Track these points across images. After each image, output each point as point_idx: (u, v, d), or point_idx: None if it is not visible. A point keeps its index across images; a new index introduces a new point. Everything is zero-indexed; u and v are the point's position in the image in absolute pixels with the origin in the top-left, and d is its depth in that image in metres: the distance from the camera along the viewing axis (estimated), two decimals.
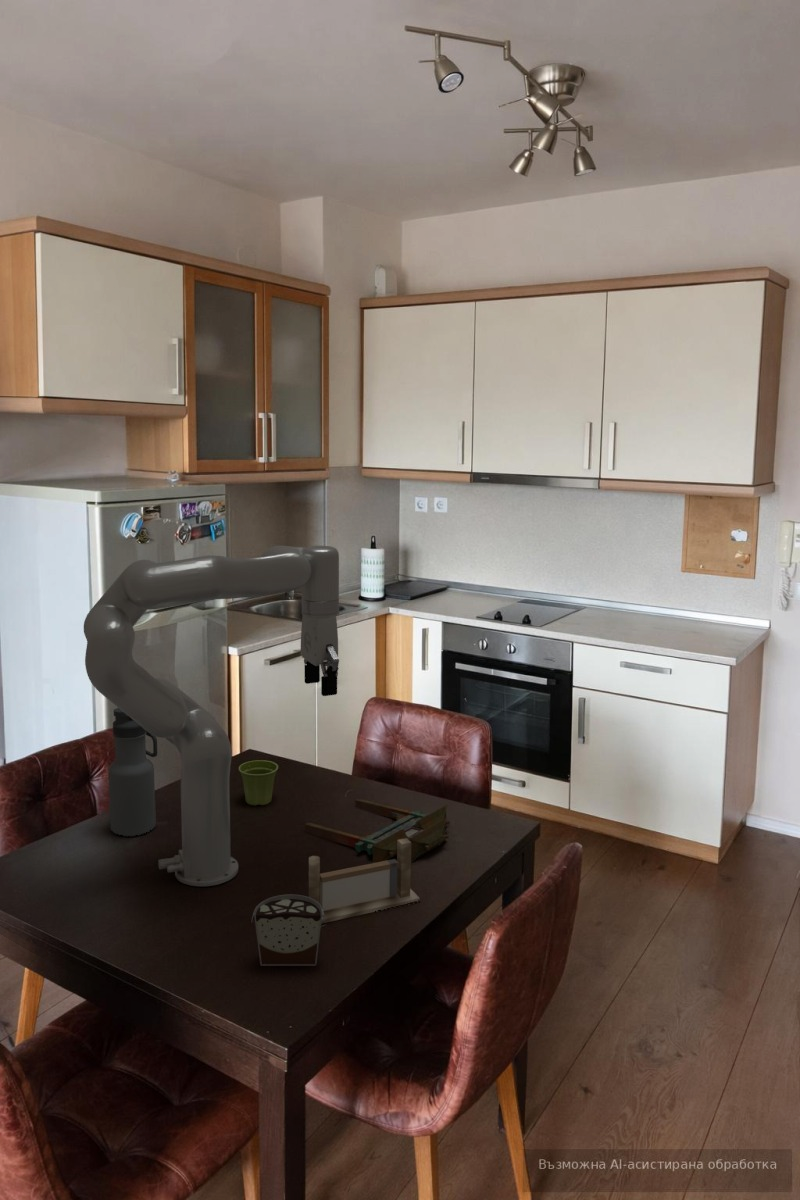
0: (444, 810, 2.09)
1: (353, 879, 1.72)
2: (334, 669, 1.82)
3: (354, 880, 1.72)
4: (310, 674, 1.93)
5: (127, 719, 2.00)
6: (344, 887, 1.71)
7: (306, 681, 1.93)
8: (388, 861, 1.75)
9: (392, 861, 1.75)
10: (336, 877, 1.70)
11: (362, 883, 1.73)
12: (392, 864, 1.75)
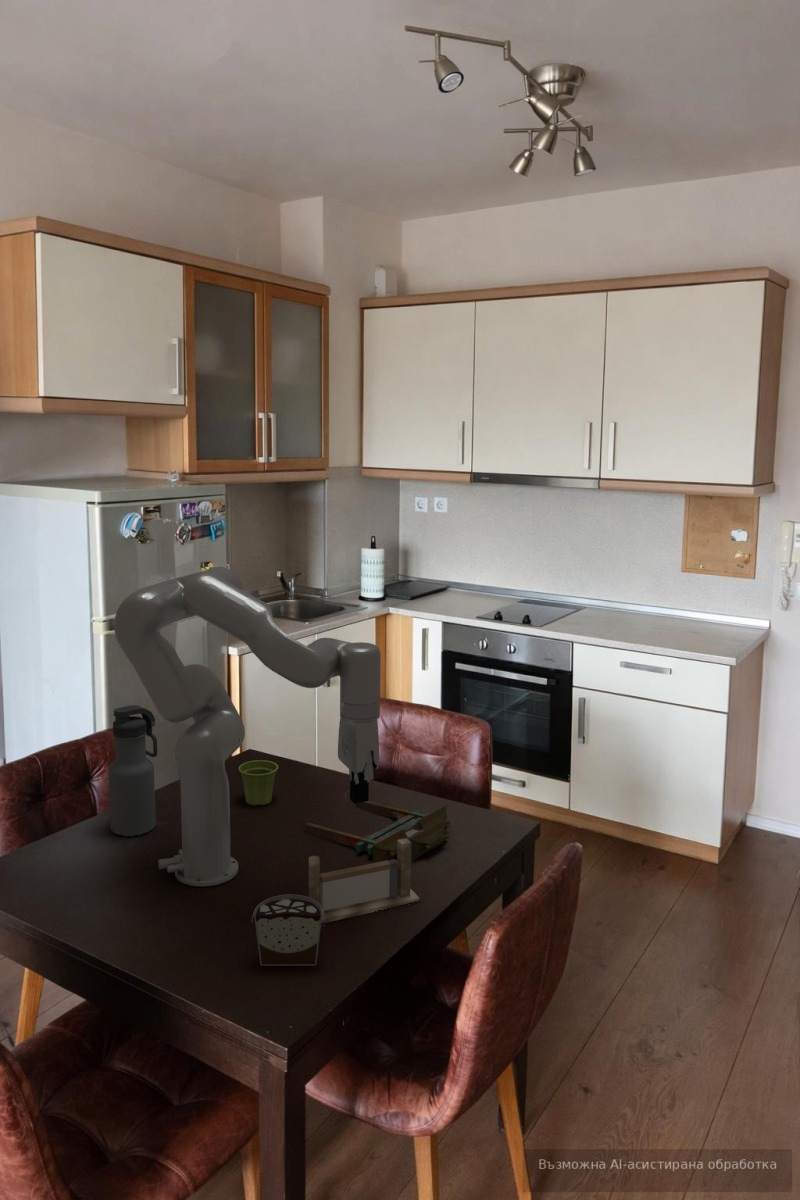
0: (444, 810, 2.09)
1: (353, 879, 1.72)
2: None
3: (354, 880, 1.72)
4: None
5: (127, 719, 2.00)
6: (344, 887, 1.71)
7: (352, 799, 1.76)
8: (388, 861, 1.75)
9: (392, 861, 1.75)
10: (336, 877, 1.70)
11: (362, 883, 1.73)
12: (392, 864, 1.75)
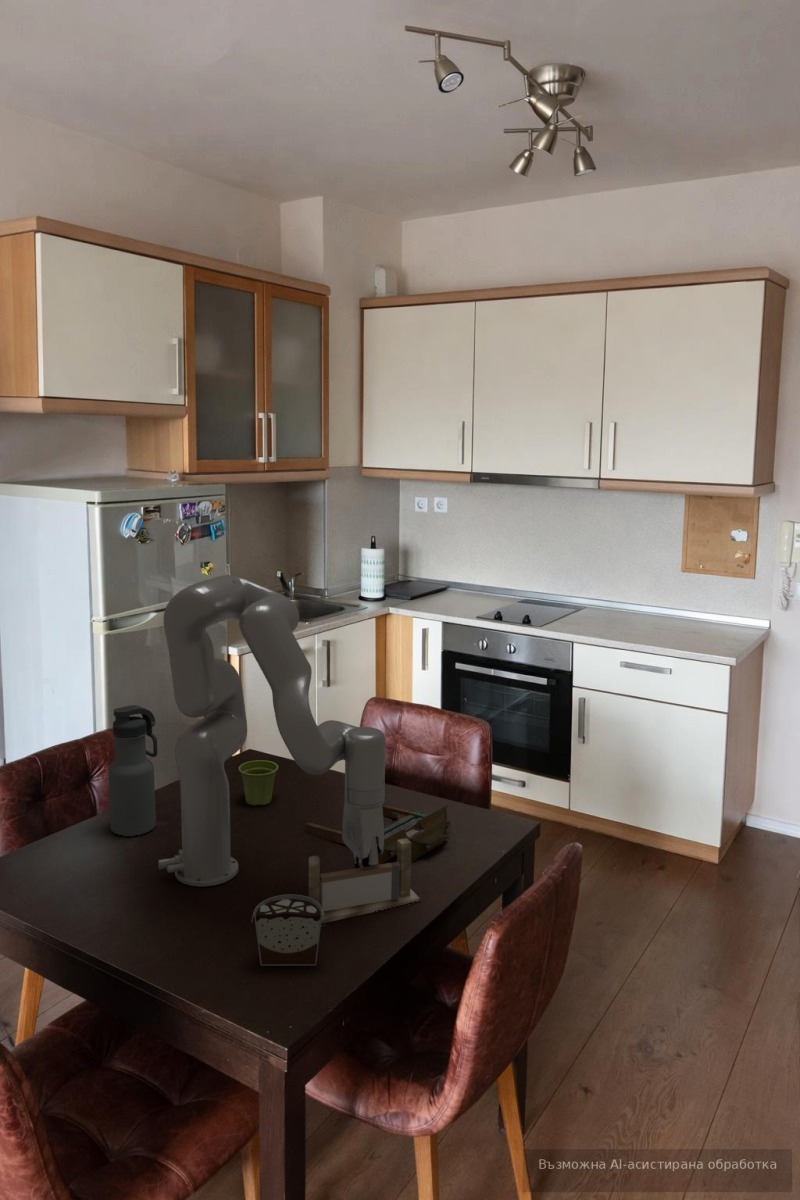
0: (445, 810, 2.09)
1: (354, 880, 1.71)
2: None
3: (355, 881, 1.71)
4: None
5: (127, 719, 2.00)
6: (345, 888, 1.71)
7: None
8: (390, 863, 1.74)
9: (394, 864, 1.74)
10: (336, 877, 1.70)
11: (363, 885, 1.72)
12: (394, 867, 1.74)
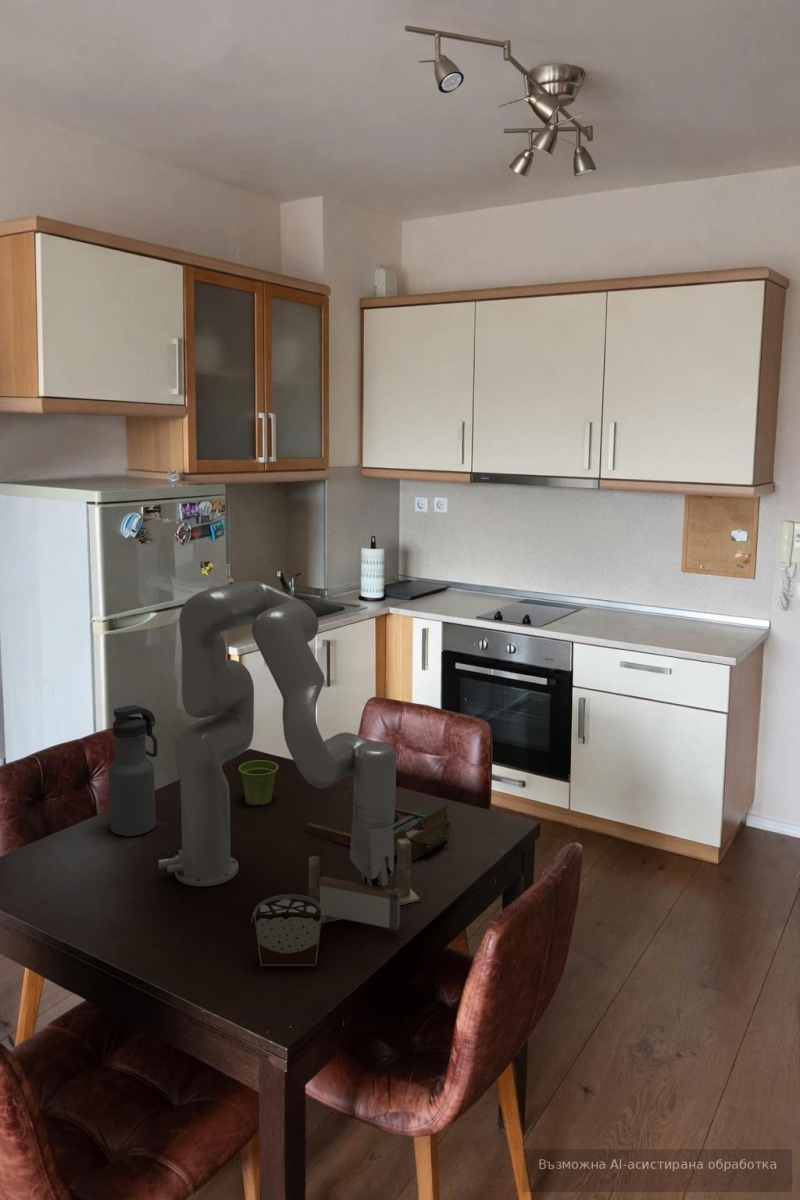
0: (445, 810, 2.09)
1: (351, 894, 1.66)
2: None
3: (352, 895, 1.66)
4: None
5: (127, 719, 2.00)
6: (341, 898, 1.67)
7: None
8: (392, 890, 1.64)
9: (395, 892, 1.64)
10: (333, 885, 1.67)
11: (360, 902, 1.66)
12: (392, 894, 1.63)
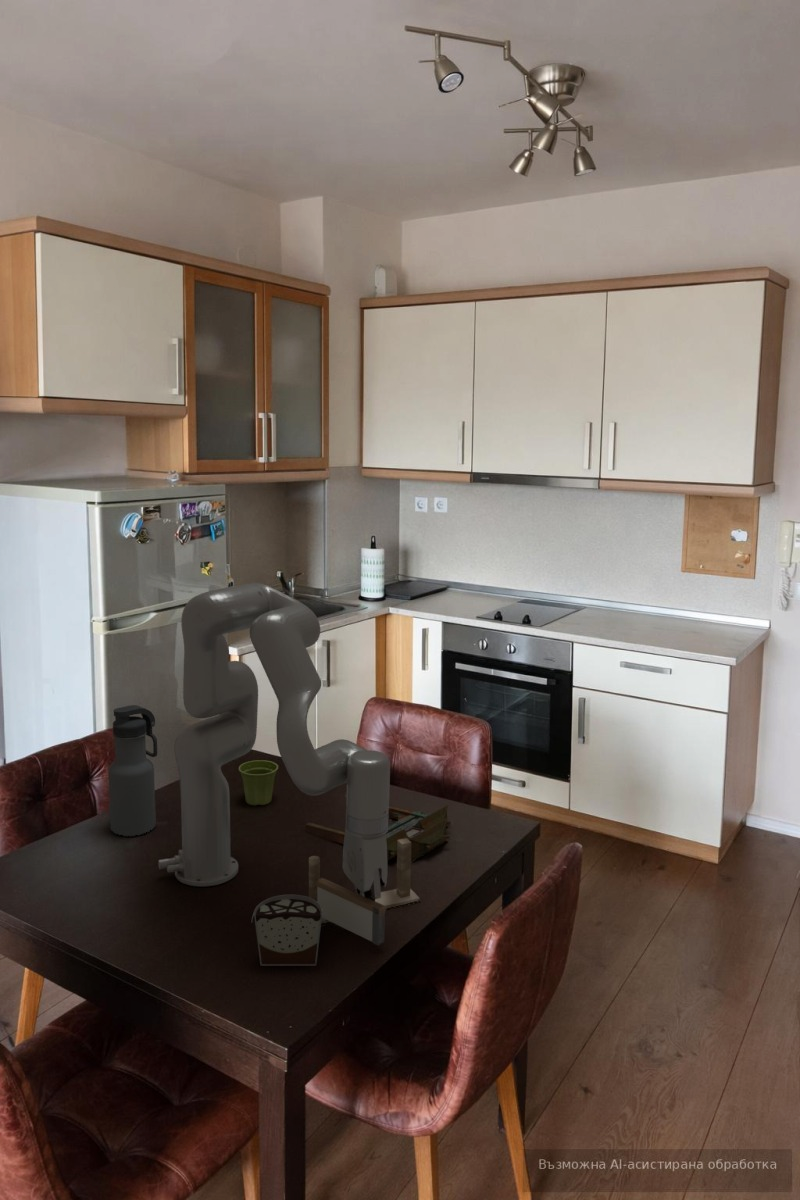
0: (445, 810, 2.09)
1: (341, 900, 1.64)
2: None
3: (342, 902, 1.64)
4: None
5: (127, 719, 2.00)
6: (334, 903, 1.65)
7: None
8: (377, 904, 1.60)
9: (379, 906, 1.59)
10: (327, 888, 1.66)
11: (349, 910, 1.63)
12: (374, 908, 1.59)
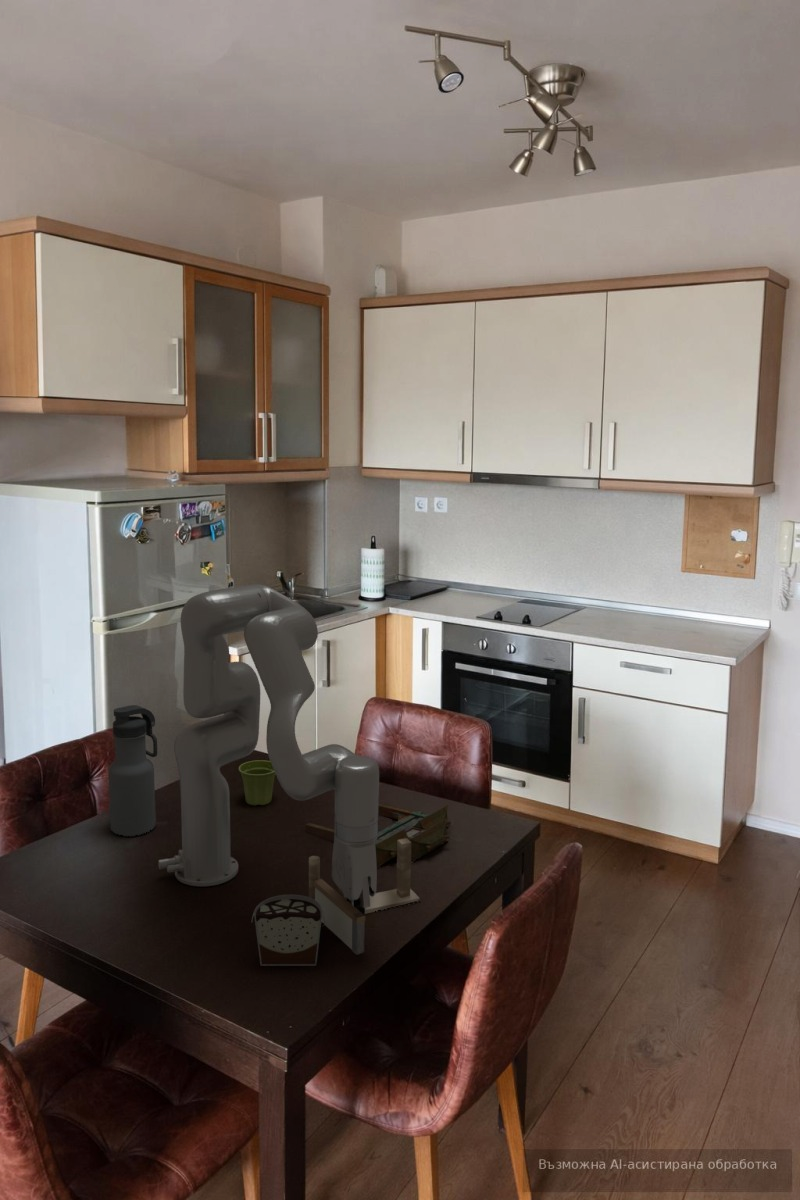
0: (445, 810, 2.09)
1: (331, 904, 1.63)
2: None
3: (332, 905, 1.63)
4: None
5: (127, 719, 2.00)
6: (326, 906, 1.64)
7: None
8: (358, 912, 1.57)
9: (358, 915, 1.56)
10: (321, 889, 1.65)
11: (336, 915, 1.61)
12: (353, 916, 1.56)
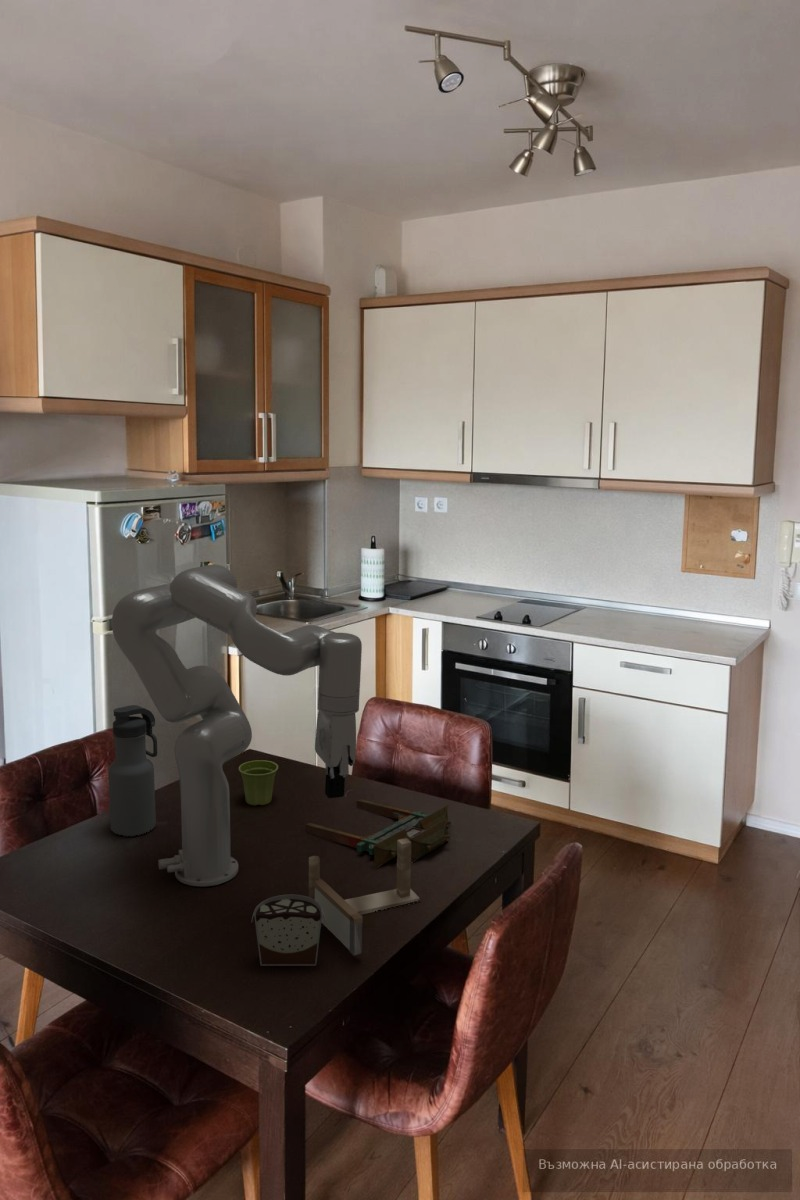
0: (445, 810, 2.09)
1: (330, 904, 1.63)
2: None
3: (331, 906, 1.62)
4: None
5: (127, 719, 2.00)
6: (325, 906, 1.64)
7: (327, 793, 1.70)
8: (355, 913, 1.56)
9: (356, 915, 1.56)
10: (320, 889, 1.65)
11: (335, 915, 1.61)
12: (351, 917, 1.56)
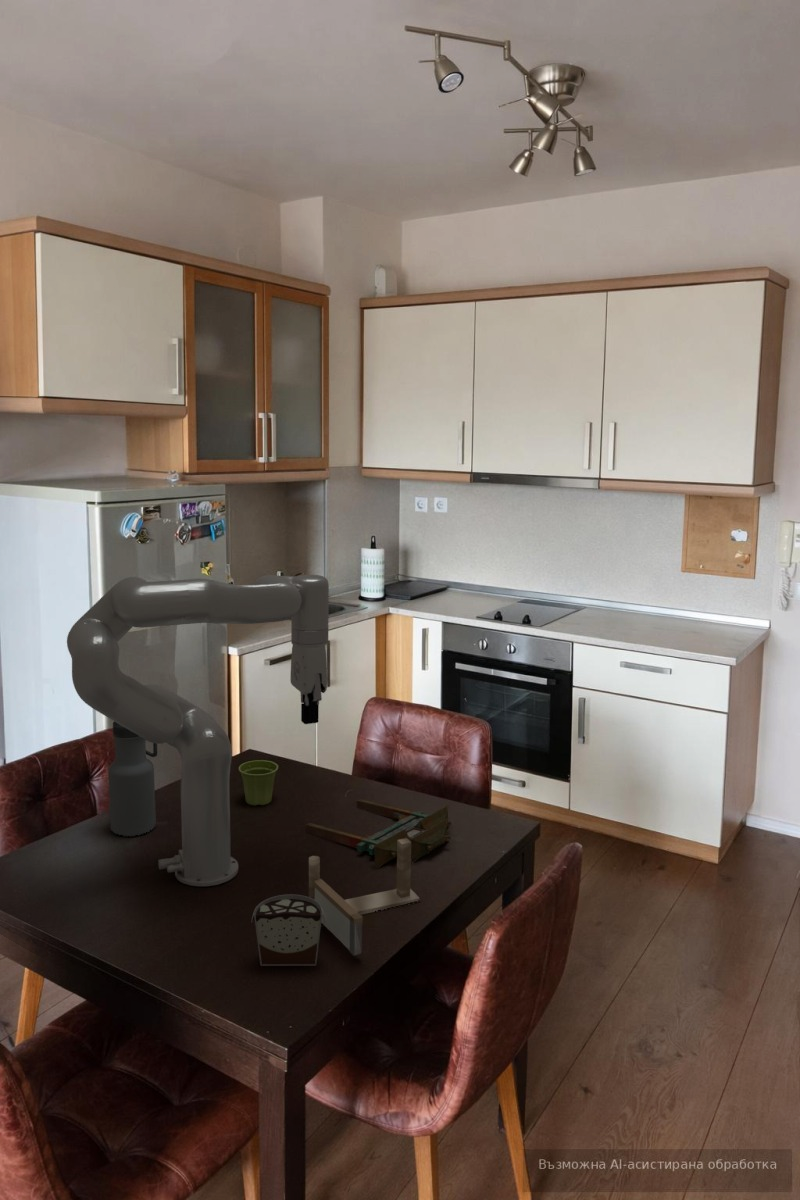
0: (446, 810, 2.09)
1: (330, 904, 1.63)
2: None
3: (331, 906, 1.62)
4: None
5: None
6: (325, 906, 1.64)
7: (303, 720, 1.90)
8: (355, 913, 1.56)
9: (356, 915, 1.56)
10: (320, 889, 1.65)
11: (335, 915, 1.61)
12: (351, 917, 1.56)
